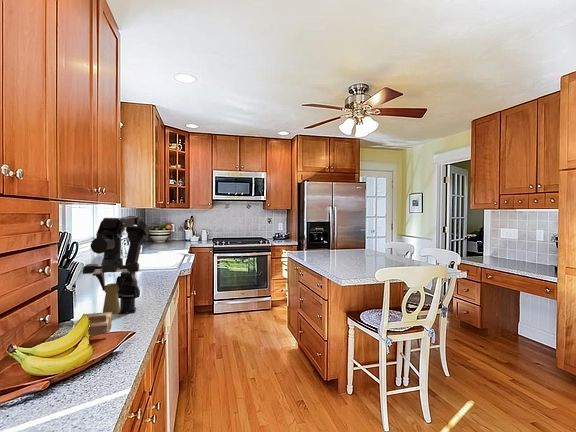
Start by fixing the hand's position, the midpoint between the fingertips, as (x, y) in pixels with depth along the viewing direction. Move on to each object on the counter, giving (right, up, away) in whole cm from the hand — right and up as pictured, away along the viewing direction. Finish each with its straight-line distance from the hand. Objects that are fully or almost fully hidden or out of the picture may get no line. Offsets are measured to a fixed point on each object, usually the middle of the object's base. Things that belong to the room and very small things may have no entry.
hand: (111, 290), depth 124 cm
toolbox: (0, -13, -11) cm, 17 cm away
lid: (+1, -8, -11) cm, 14 cm away
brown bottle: (0, -9, 0) cm, 9 cm away
